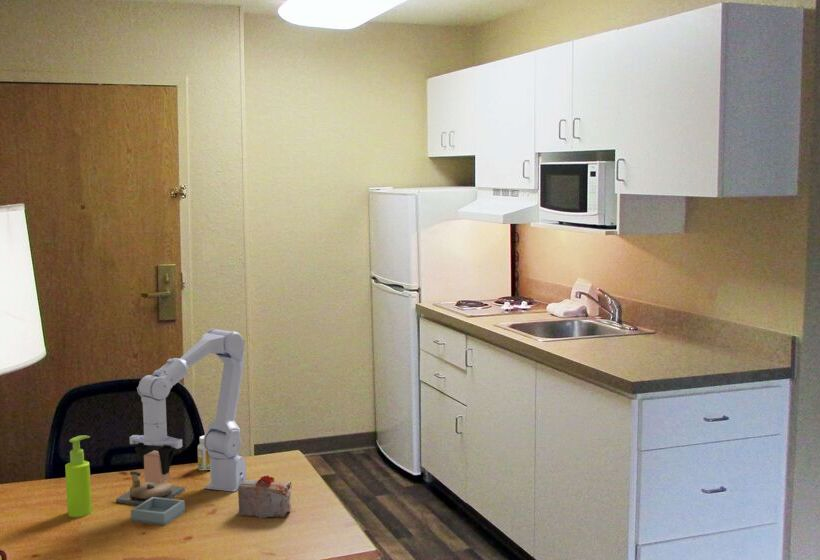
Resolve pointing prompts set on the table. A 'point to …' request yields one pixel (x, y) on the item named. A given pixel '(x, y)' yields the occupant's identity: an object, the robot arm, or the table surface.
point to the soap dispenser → (78, 481)
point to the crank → (148, 488)
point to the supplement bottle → (203, 456)
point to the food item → (264, 497)
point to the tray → (158, 511)
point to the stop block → (154, 468)
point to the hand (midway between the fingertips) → (157, 472)
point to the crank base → (130, 500)
